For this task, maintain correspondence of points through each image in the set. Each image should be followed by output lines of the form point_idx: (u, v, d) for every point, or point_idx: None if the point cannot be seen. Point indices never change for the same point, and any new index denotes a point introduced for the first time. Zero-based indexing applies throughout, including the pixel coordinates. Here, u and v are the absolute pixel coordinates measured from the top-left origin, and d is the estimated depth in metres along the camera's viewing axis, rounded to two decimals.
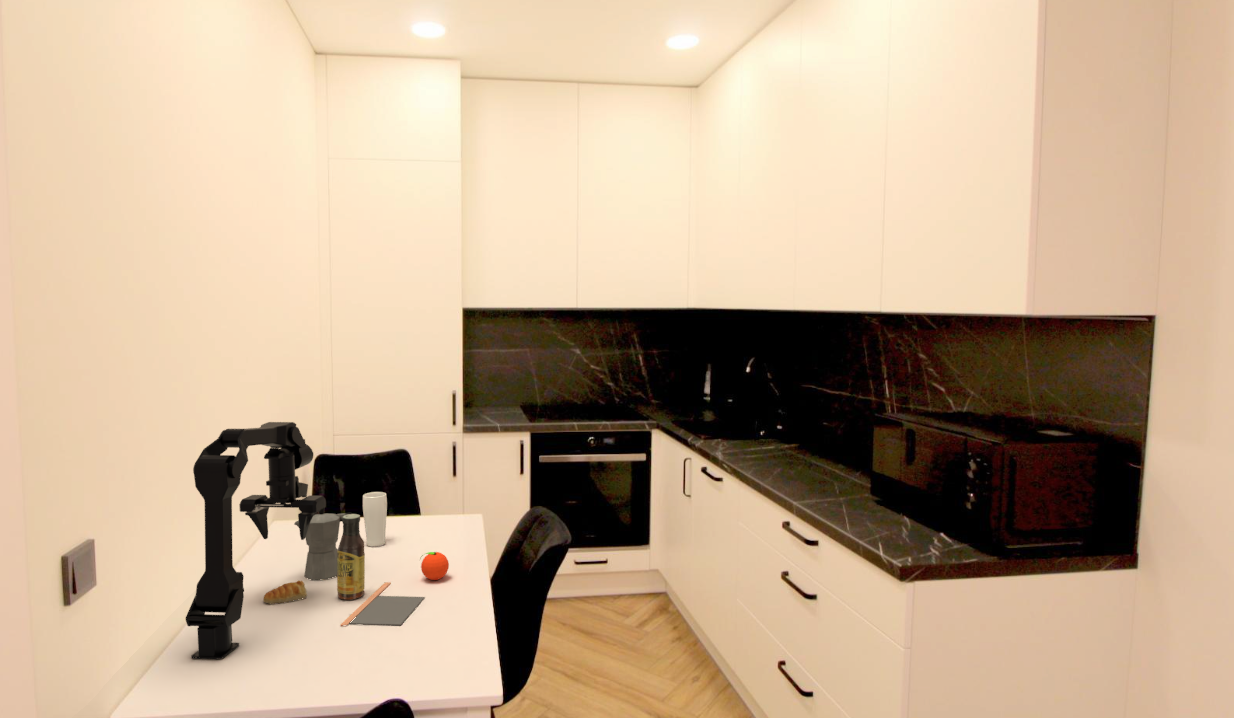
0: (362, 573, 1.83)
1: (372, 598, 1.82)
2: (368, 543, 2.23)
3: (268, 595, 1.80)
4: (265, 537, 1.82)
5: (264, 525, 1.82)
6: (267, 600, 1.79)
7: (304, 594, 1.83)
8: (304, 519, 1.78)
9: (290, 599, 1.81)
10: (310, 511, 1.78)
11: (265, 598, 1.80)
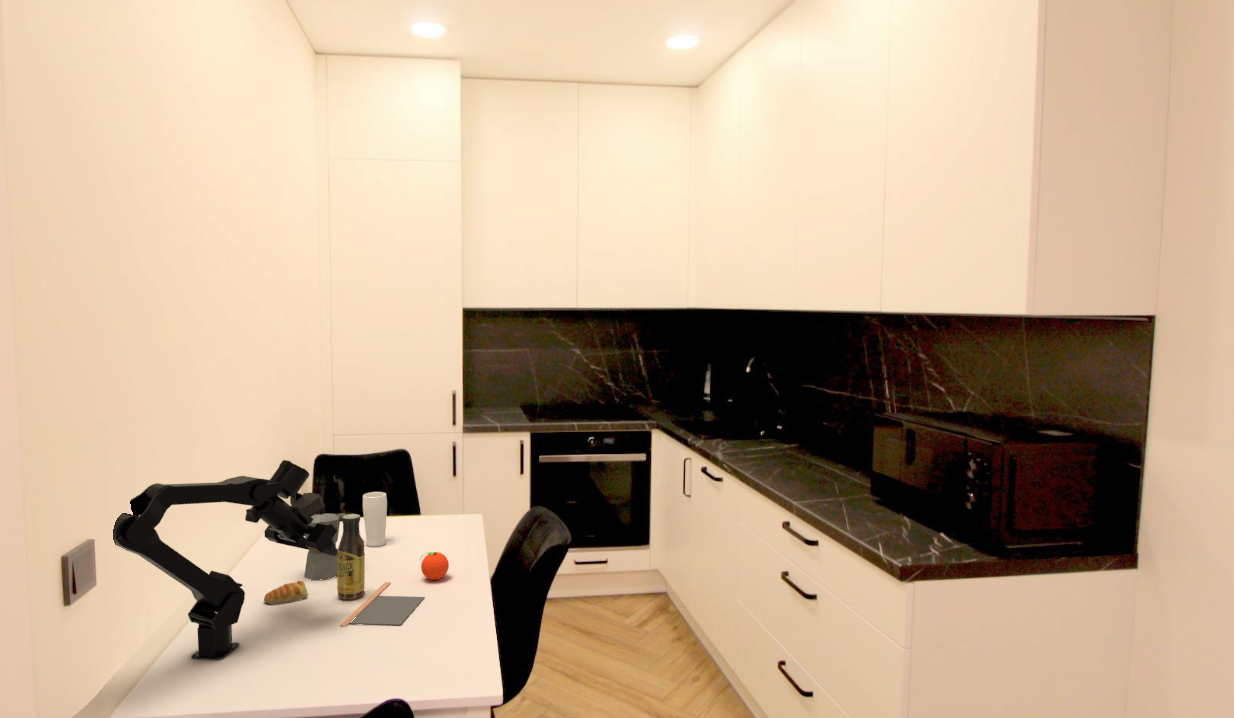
0: (362, 573, 1.83)
1: (372, 598, 1.82)
2: (368, 543, 2.23)
3: (269, 595, 1.80)
4: (307, 548, 1.79)
5: (299, 542, 1.77)
6: (268, 601, 1.79)
7: (305, 594, 1.83)
8: None
9: (291, 599, 1.81)
10: (318, 551, 1.66)
11: (266, 598, 1.79)
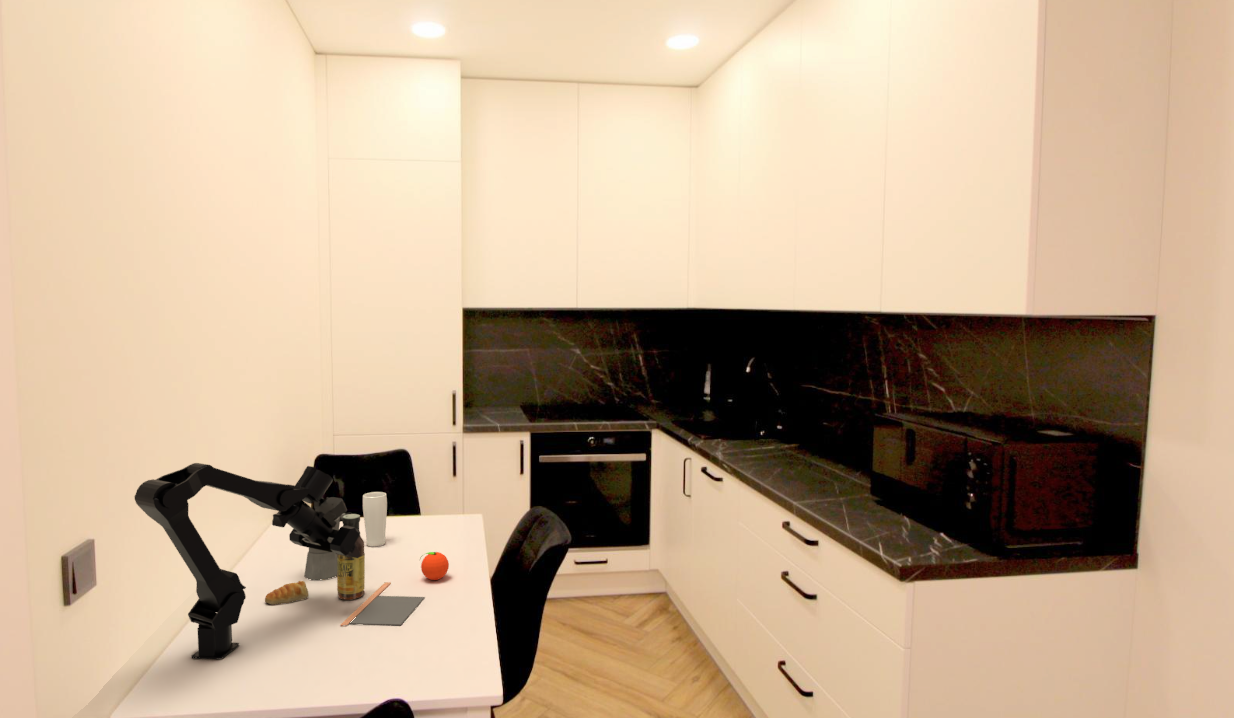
0: (362, 573, 1.83)
1: (372, 598, 1.82)
2: (368, 543, 2.23)
3: (270, 596, 1.80)
4: (331, 550, 1.84)
5: (323, 544, 1.82)
6: (269, 601, 1.79)
7: (306, 594, 1.83)
8: None
9: (292, 599, 1.81)
10: (342, 554, 1.71)
11: (267, 599, 1.79)
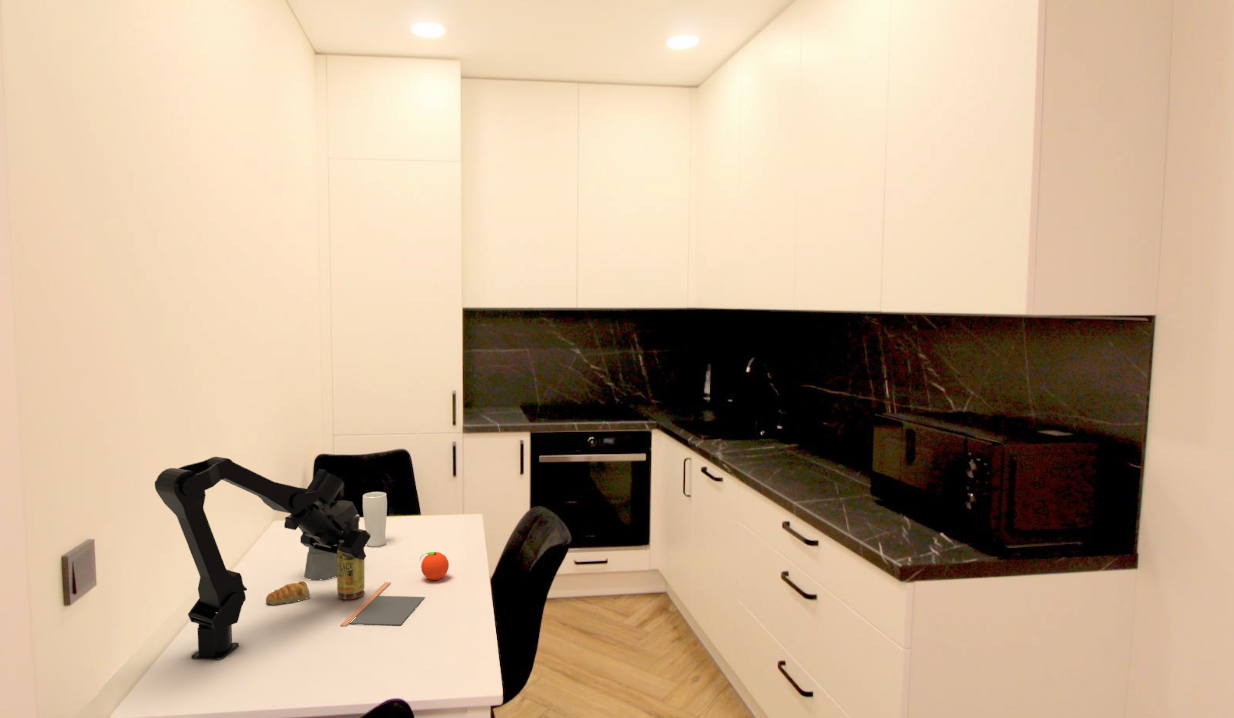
0: (362, 573, 1.83)
1: (372, 598, 1.82)
2: (368, 543, 2.23)
3: (271, 596, 1.79)
4: None
5: (337, 548, 1.84)
6: (270, 601, 1.79)
7: (307, 594, 1.83)
8: None
9: (293, 600, 1.81)
10: (353, 556, 1.74)
11: (268, 599, 1.79)
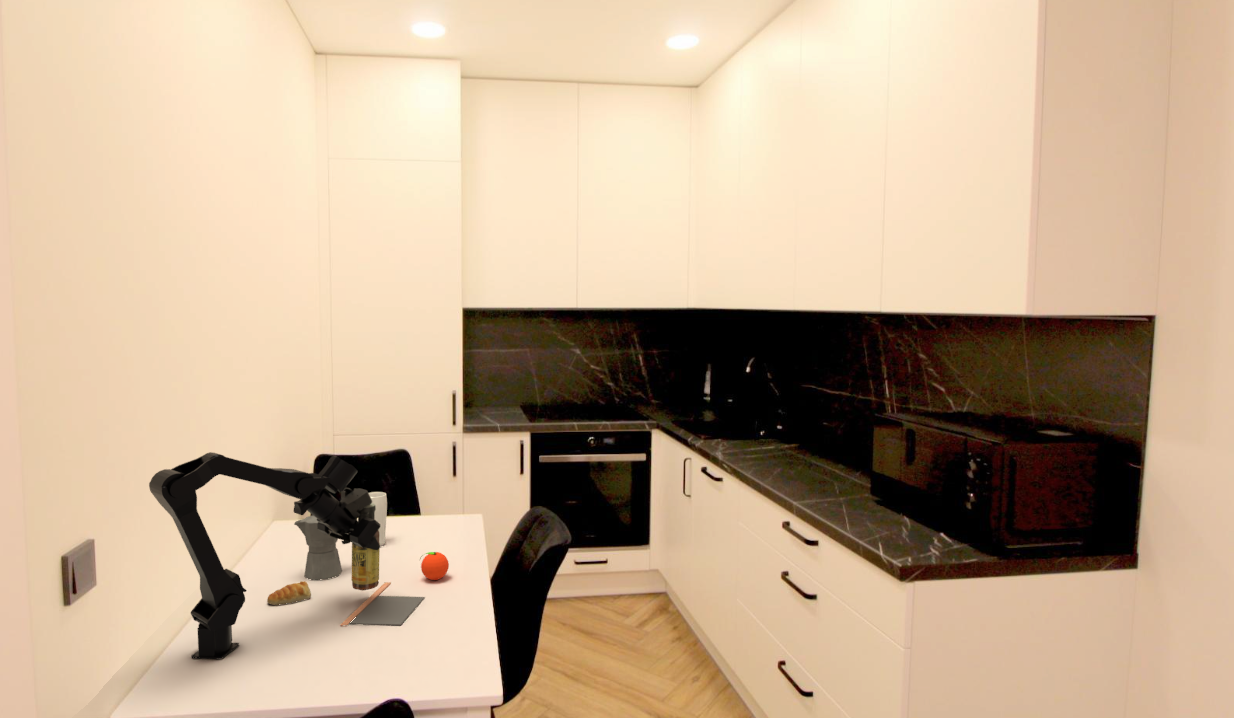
0: (376, 564, 1.79)
1: (372, 598, 1.82)
2: None
3: (272, 596, 1.79)
4: None
5: None
6: (271, 602, 1.79)
7: (308, 594, 1.83)
8: None
9: (295, 600, 1.81)
10: (361, 546, 1.70)
11: (269, 599, 1.79)
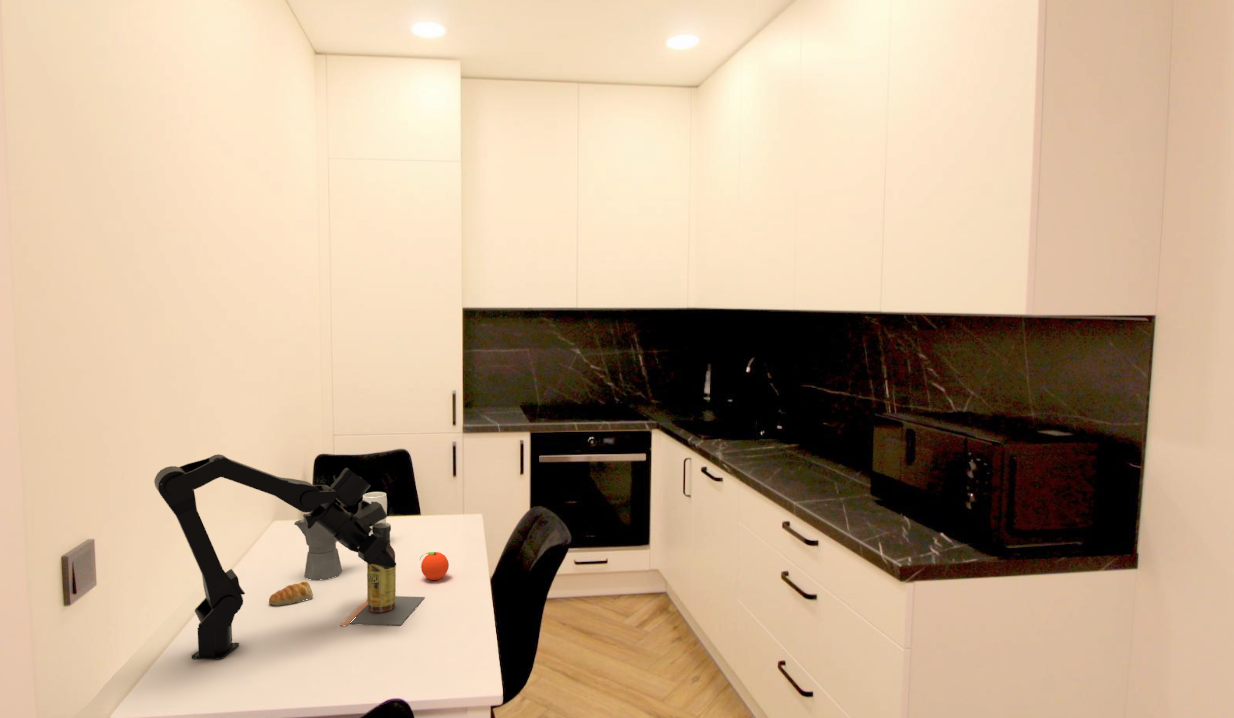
0: (390, 586, 1.74)
1: None
2: None
3: (274, 597, 1.79)
4: None
5: None
6: (273, 602, 1.78)
7: (310, 595, 1.82)
8: (372, 563, 1.67)
9: (297, 600, 1.80)
10: None
11: (271, 600, 1.78)
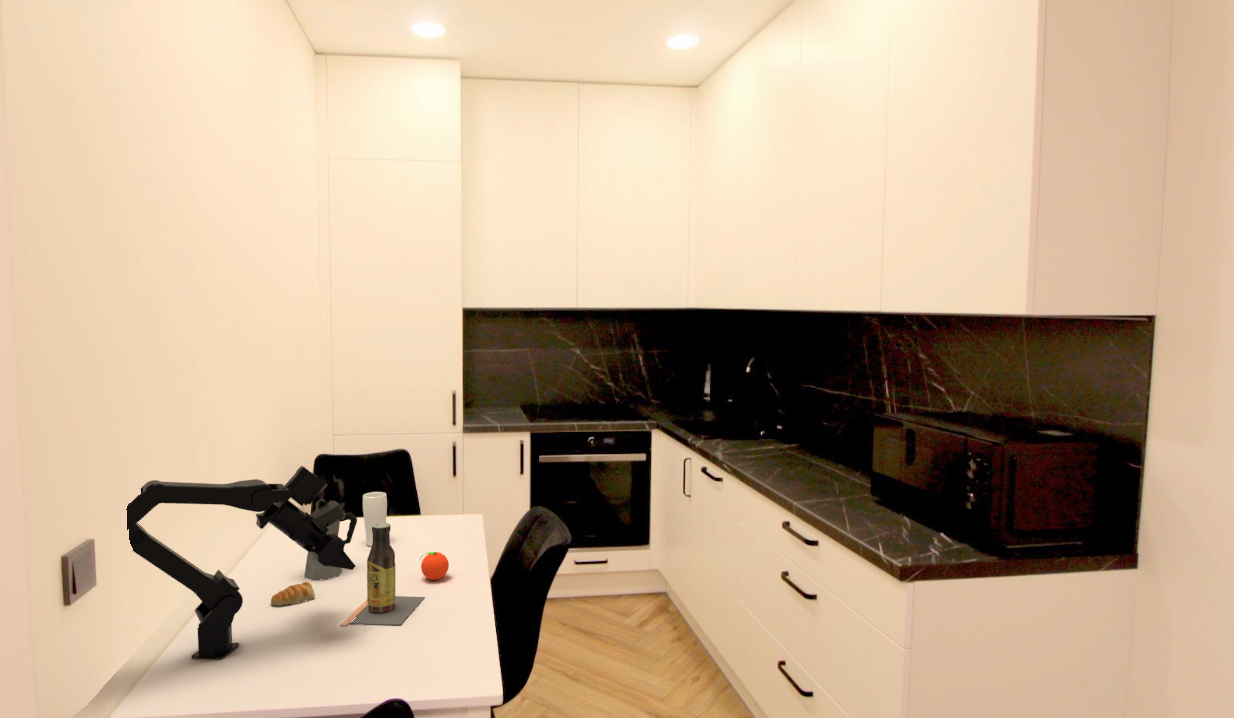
0: (390, 586, 1.74)
1: None
2: (368, 543, 2.23)
3: (277, 597, 1.78)
4: None
5: None
6: (276, 603, 1.78)
7: (312, 595, 1.82)
8: (329, 565, 1.61)
9: (299, 600, 1.80)
10: (322, 564, 1.59)
11: (274, 600, 1.78)
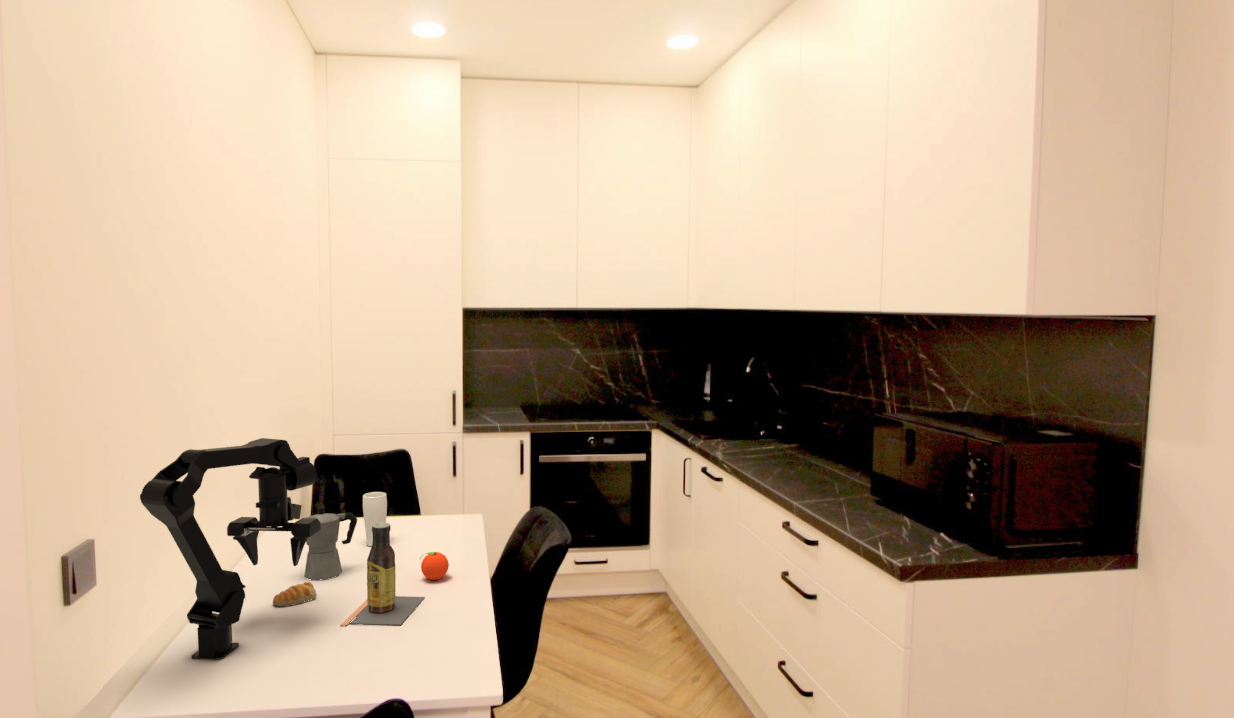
0: (390, 586, 1.74)
1: None
2: (368, 543, 2.23)
3: (279, 598, 1.78)
4: (255, 563, 1.68)
5: (253, 550, 1.68)
6: (278, 603, 1.78)
7: (314, 595, 1.82)
8: (297, 544, 1.65)
9: (301, 600, 1.80)
10: (303, 535, 1.64)
11: (276, 601, 1.78)
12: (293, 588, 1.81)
